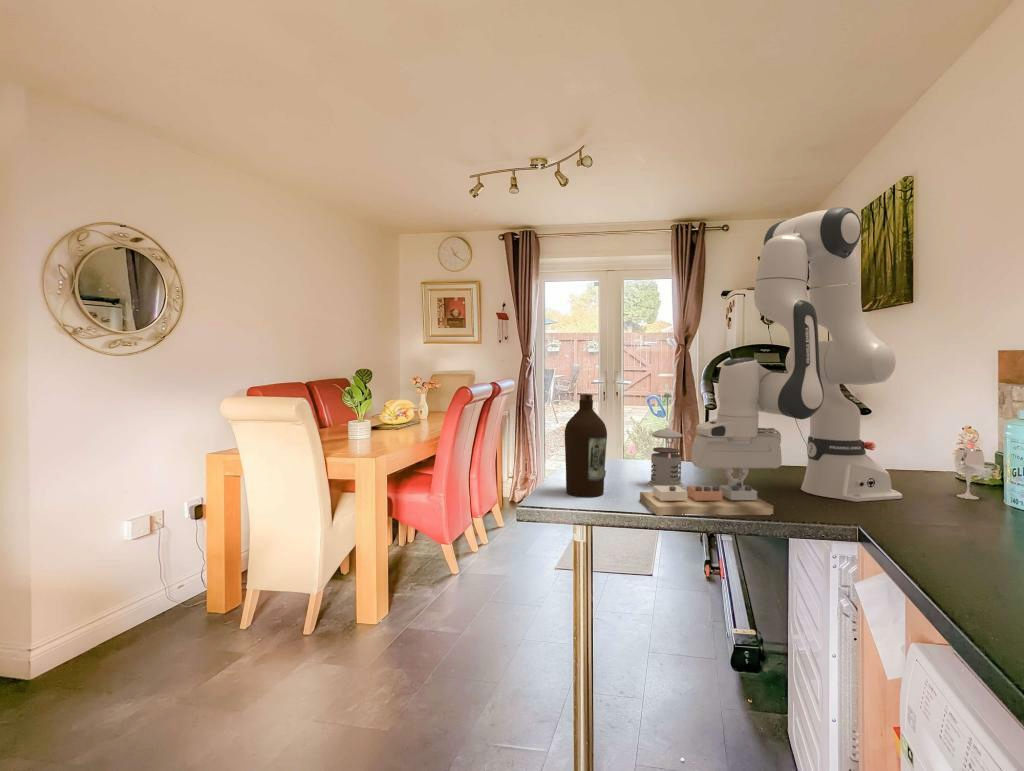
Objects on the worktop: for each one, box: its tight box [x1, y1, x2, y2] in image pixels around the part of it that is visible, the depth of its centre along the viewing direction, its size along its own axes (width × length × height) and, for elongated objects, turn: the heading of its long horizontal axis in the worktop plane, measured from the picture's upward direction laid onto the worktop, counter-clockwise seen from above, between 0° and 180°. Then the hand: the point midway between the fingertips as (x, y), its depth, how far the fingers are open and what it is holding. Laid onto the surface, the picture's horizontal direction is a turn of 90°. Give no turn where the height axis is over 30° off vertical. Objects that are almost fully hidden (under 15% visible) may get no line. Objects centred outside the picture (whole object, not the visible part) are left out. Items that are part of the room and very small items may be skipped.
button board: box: [639, 491, 774, 517], centre depth 128 cm, size 26×13×2 cm, turn 93°
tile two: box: [719, 484, 758, 500], centre depth 128 cm, size 6×6×3 cm
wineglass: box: [954, 447, 986, 500], centre depth 139 cm, size 6×6×12 cm
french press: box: [647, 392, 685, 489], centre depth 150 cm, size 10×12×25 cm
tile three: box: [685, 485, 722, 501], centre depth 128 cm, size 6×6×3 cm
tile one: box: [652, 486, 687, 501], centre depth 127 cm, size 6×6×3 cm
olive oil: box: [564, 393, 608, 498], centre depth 140 cm, size 11×11×25 cm
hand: (735, 486), depth 129 cm, fingers closed, pressing on tile two
